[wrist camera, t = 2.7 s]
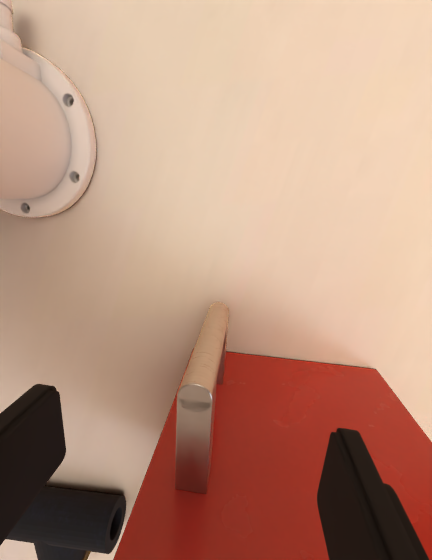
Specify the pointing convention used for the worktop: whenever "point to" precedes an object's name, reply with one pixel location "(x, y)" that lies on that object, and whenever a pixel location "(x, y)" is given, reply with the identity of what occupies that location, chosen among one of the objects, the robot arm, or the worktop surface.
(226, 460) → the red cabinet door
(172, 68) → the worktop surface
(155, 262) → the worktop surface
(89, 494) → the pipe connector
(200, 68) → the worktop surface
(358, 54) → the worktop surface
